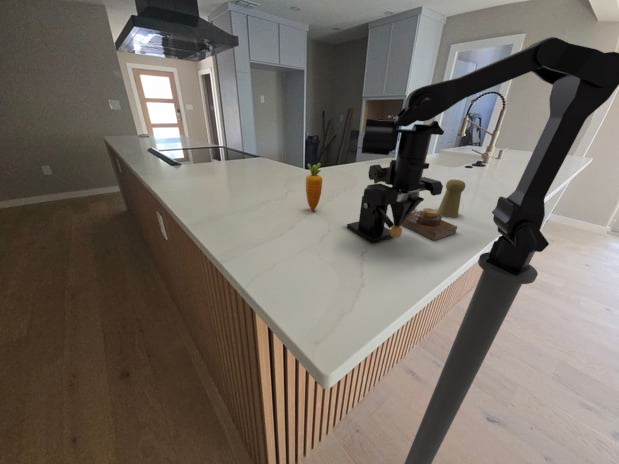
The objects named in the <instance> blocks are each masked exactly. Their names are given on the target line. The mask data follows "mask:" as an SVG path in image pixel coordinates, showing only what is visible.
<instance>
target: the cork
mask: <svg viewBox="0 0 619 464" xmlns="http://www.w3.org/2000/svg"><path fill="white" fill-rule="evenodd" d="M445 189H446V191H445V193H444V195H443V197H442V200H441V202H440V204H439V207H438V209H437V210H436V211H437V214H439V215H440V216H442V217H444V218H451V219H453V218H458V216H459V211H460V204H461V197H462V192H463V191H465V189H466V183H465V181H463V180H460V179H449V180H447V182H446V183H445Z"/></svg>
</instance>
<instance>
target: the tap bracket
mask: <svg viewBox="0 0 619 464" xmlns="http://www.w3.org/2000/svg"><path fill="white" fill-rule="evenodd" d="M363 196H364V195H362V196H361V202H360V211H359V217H358V218H359V219H358V221H354V222H349V223H347V224H346V228H347V230H349V231H351V232H353V233H354V234H356V235H357V236H359V237H360V238H362V239H363V240H365V241H367V242H368V243H369V244H375V243H378V242H383V241H386V240H389V239H394V237H392V236H391V235H390V234H389V228H387V227H385V225H386V223H385V222H384V221H383V219H382V218H381V217H380V215H379V214H378V213H377V211H376V206H377V203H374V202H372V201H370V200H368V199H365V198H363ZM388 207H389V205H385V206H383V205H382V206H381V208H382V210H383V211H384V212H385V213H386V215H388V214H387V213H388Z"/></svg>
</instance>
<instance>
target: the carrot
mask: <svg viewBox="0 0 619 464" xmlns="http://www.w3.org/2000/svg"><path fill="white" fill-rule="evenodd" d="M321 166H322V164H321V163H320V162H317V164H313V165H311V164H310V163H307V167H308V169H309V171H310V174H308V175H307V176H306V177H305V195H306V201H307V203H308V206H309V208H310V210H311V211H312V212H314V211H315V210H316V208H317V207H318V204H319V202H320V199H321V195H322V189H323V177H322V176H321V175H319V173H320V172H321V171H322V170H321V169H320V167H321Z"/></svg>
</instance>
